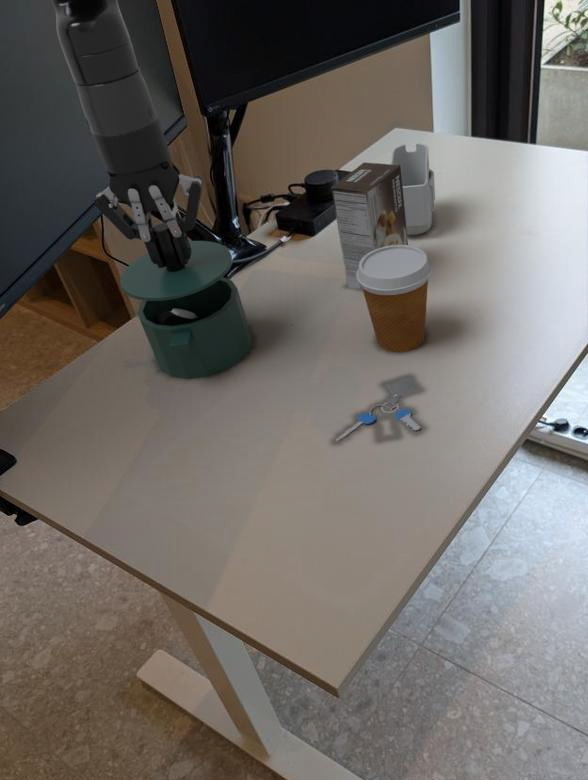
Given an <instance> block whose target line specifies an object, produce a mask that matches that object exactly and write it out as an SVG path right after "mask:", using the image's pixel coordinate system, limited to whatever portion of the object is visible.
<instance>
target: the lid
mask: <svg viewBox="0 0 588 780" xmlns="http://www.w3.org/2000/svg"><path fill="white" fill-rule="evenodd" d="M152 231H153V233H154V236H155V239H156V242H157V244H158V247H159V250H160V253H161V255H162V258H163V261H164V264H165V267H164V268H159V267H158V265H157V264H154V263H153V262H152V261H151V259H150V256H149V253H148V252H147V253H146V254H143V255H142V256H140V257H138V258H137V259H136V260H134V261H133V262H131V263H130V264H129V265H128V266H127V267H126V268H125V270H123V272H122V273H121V276H120V278H119V279H120V281H119V283H120V287H121V290H122V291H123V292H124V293H125V294H126V295H127V296H129V297H130V298H133V299H135V300H138V301H143V300H145V301H163V300H171V299H176V298H180V297H184V296H188V295H191V294H193V293H196V292H199V291H201V290H203V289H205V288H207V287H209V286H211V285H212V284H214V283H216V282H217V281H218V280H220V279H221V278H222V277H224V276H225V275H226V274H227V273H228V272H229V270H230V269H231V267H232V264H233V257H232V253H231V252H230V250H229V249H228V248H227V247H226V246H225V245H223V244H220V243H218V242H214V241H208V240H190V241H189V240H188V241H189V244H190V247H191V250H192V252H191V257H190V259H189V261H188V264H184V265H182V264H181V262H180V259H179V256H178V253H177V251H176V248H175V245H174V242H173V235H172V233H171V231H170V229H169V227H168V225H167V223H166V222H161V223H158V224H156V225H153V229H152Z"/></svg>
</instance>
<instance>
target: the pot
mask: <svg viewBox="0 0 588 780" xmlns="http://www.w3.org/2000/svg"><path fill="white" fill-rule="evenodd" d="M239 292H240V291H239V289H238V287H237V286H236V284H235V283H234V282H233V280H231V279H228V278H226V277H224V276H223V277H222V278H221V279H220V280H218V281H217V282H216V283H214V284H212V285H211V286H209V287H207V288H205V289H203V290H201V291H199V292H196V293H193V294H191V295H188V296H184V297H180V298H176V299H171V300H163V301H145V300H141V301H140V303H139V306H138V309H137V311H136V314H137V316H138V319H139V322H140V324H141V326H142V329H143V331H144V334H145V335H146V338H147V340H148V343H149V345H150V349H151V351H152V352H153V355H154V357H155V360H156V362H157V365H158V367H159V369H160V370H161V372H164V373H165V374H167V375H169V376H171V377H172V378H179V379H187V380H188V379H189V380H190V379H198V378H206V377H210V376H214V375H215V374H219V373H221V372H223V371H226V370H228V369H230V368H231V367H233V366H235V365H236V364H237V363H239V362H241V361H242V360H243V358H245V356H246V355H247V353H248V352H249V351H250V350H251V348H252V339H253V338H252V337H253V336H252V333H251V331H250V327H249V323H248V320H247V316H246V313H245V309H244V305H243V303H242V299H241V295H240V293H239ZM174 308H176V309H182V310H186V311H189V312H192V313H194V314H195V315H196V316H198V317H199V318H201V320H198V318H196V317H195V318H194V319H189V318H184V317H180V316H177V315H176V316H171V317H169V318H167V319H166V320H165V321H164V324H163V325H157V324H156V318H157V317H158V315H159V314H160V313H162V312H166V311H172V309H174Z"/></svg>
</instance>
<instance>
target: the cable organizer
mask: <svg viewBox="0 0 588 780" xmlns="http://www.w3.org/2000/svg"><path fill="white" fill-rule="evenodd" d="M429 155H430V154H429V147H428V146H427V145H426V144H424V143H421V142H420V143H419V142H416V143H415V150H411V151H407V148H406V144H401V145H399V146H397V147H395V148H394V149H393V150H392V151H391V159H390V165H401V176H402V186H403V197H404V207H405V217H406V228H407V236H418V235H422V234H424V233H426V232H428V231H429V230H430V228H431V227H432V222H433V221H432V220H433V212H435V200H436V187H435V185H436V184H435V173H434V171H433V170H432V169H430V157H429Z"/></svg>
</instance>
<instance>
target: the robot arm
mask: <svg viewBox="0 0 588 780" xmlns="http://www.w3.org/2000/svg"><path fill="white" fill-rule="evenodd" d="M51 3H52V5H53V8H54V11H55V21H56V23H55V24H56V25H55V26H56V27H55V28H56V33H57V38H58V41H59V44H60V45H59V46H60V47H61V51H62V52H63V55H64V58H65V61H66V64H67V66H68V68H69V70H70V73H71V76H72V79H73V82H74V84H75V86H76V87H75V88H76V89H77V93H78V98H79V102H80V106H81V108H82V111H83V113H84V114H83V115H84V117H85V118H84V119H85V123H86V124H87V126H88V128H89V129H90V132H91V134H92V138H93V139H94V143H95V145H96V148H97V149H98V152H99V155H100V157H101V161H102V163H103V165H104V168H105V170H106V173H107V175H108V182H107V184H108V186H107V187H106V188H105V189H104V190H103V189H102V190H99V192H98V193H97V194H96V196H95V198H94V200H93V204H94V206H95V207H96V208H97V209H98V210H99V211H100V213H102V214H103V215H104V216H105V217H106V218H107V219H108V220H109V221H110V222H111V223H112V225H113V226H115V228H117V230H118V231H119V232H121V234H122V235H123V236H124V237H125V238H126V239H127V240H134V239H137V240H141V241H142V242H143V243H144V245H145V248H146V250H147V253H149V256H150V259H151V261H152V262H153V263H154V264H157V265H158V267H159V268H164V267H165V264H164V261H163V258H162V255H161V253H160V250H159V247H158V244H157V242H156V239H155V236H154V233H153V231H152V229H153V227H154V224H153V223H154V222H153V219H152V212H159V214H160V215H161V217H162V220H163V221H164V222H165V223H167V225H168V227H169V229H170V231H171V233H172V235H173V242H174V245H175V248H176V251H177V253H178V256H179V259H180V262H181V264H182V265H184V264H188V261H189V259H190V257H191V252H192V250H191V247H190V244H189V237H188V235H187V232H188V231H193V230H194V228H195V225H196V223H197V220H198V219H197V218H198V212H199V208H200V202H201V196H202V191H203V184H204V179H203V177H201V175H194V177H192V176H188V175H185V174H183V173H181V171H180V169H179V167H177V166H176V165H175V163H174V162H173V160H172V157H171V154H170V151H169V150H170V149H169V147H168V144H167V141H166V137H165V134H164V131H163V128H162V125H161V122H160V119H159V115H158V113H157V110H156V107H155V106H156V105H155V103H154V100H153V96H152V94H151V91H150V88H149V86H148V84H147V81H146V80H145V77H144V75H143V72H142V70H141V68H140V64H139V61H138V58H137V54H136V52H135V49H134V45H133V42H132V40H131V37H130V34H129V30H128V28H127V26H126V23H125V20H124V18H123V15H122V12H121V9H120V6H119V1H118V0H51ZM179 186H180V187H181V188H182V193H183V195H184V196H185V197H187V203H186V204H187V205H186V210H185V216H184V217H182V216H181V214H180V212H179V207H178V204H177V202H176V200H175V196H176V193H177V191H178V187H179ZM119 200H121V201H122V202H123V203H124V204H126V205H127V206H128V207H129V208H130V209H131V210H132V214H133V217H134V219H133V218H132V217H131V215H129V214H128V213H127V211H126V210H124V208H123V207H122V206H121V205H120V204H119Z"/></svg>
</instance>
